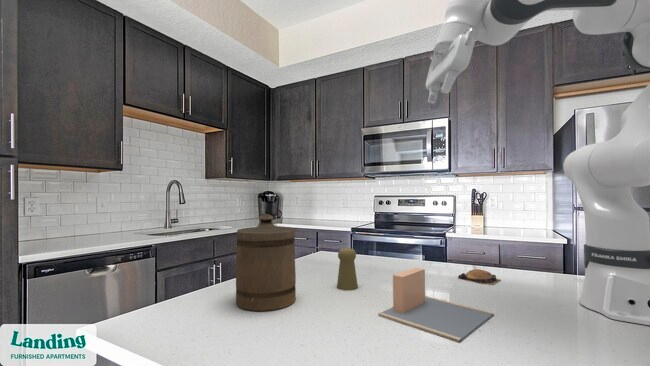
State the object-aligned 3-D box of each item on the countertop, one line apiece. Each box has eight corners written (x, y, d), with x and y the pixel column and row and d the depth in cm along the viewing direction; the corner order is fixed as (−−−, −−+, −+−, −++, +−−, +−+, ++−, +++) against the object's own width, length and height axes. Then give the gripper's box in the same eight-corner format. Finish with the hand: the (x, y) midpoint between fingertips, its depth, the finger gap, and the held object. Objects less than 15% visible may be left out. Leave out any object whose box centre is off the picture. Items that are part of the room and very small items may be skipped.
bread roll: (502, 282, 98) (502, 269, 98) (492, 288, 92) (492, 275, 92) (467, 275, 106) (466, 263, 106) (455, 280, 100) (455, 268, 100)
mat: (493, 315, 71) (493, 312, 71) (459, 342, 58) (459, 339, 58) (419, 296, 84) (419, 294, 84) (378, 315, 71) (378, 313, 71)
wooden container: (283, 288, 91) (283, 211, 92) (304, 305, 78) (304, 214, 79) (230, 297, 84) (230, 213, 85) (244, 316, 71) (243, 217, 72)
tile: (425, 302, 78) (424, 269, 78) (402, 313, 71) (402, 277, 71) (416, 299, 80) (415, 267, 80) (393, 310, 73) (392, 275, 73)
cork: (362, 287, 91) (361, 249, 92) (345, 291, 88) (345, 251, 88) (349, 282, 96) (348, 246, 97) (332, 286, 93) (332, 248, 93)
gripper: (488, 27, 68) (468, 89, 69) (451, 62, 89) (436, 110, 89) (460, 19, 69) (440, 80, 69) (429, 56, 89) (414, 103, 89)
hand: (437, 97), depth 79 cm, fingers open, 8 cm apart
